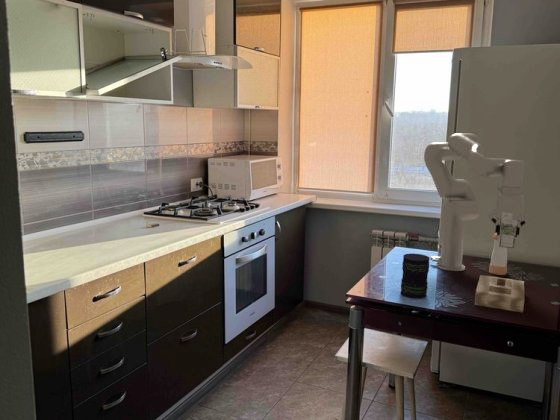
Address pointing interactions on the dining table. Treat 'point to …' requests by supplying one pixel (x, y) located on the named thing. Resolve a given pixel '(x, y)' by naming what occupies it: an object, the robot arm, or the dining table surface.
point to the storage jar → (415, 276)
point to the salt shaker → (498, 258)
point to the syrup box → (507, 231)
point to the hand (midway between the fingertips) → (506, 235)
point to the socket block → (500, 293)
